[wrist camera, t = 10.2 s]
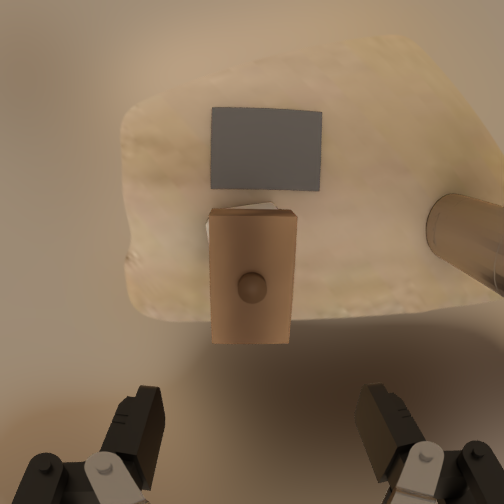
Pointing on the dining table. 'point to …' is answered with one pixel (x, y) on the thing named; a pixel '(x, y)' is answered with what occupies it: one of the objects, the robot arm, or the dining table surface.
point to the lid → (251, 275)
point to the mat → (265, 149)
